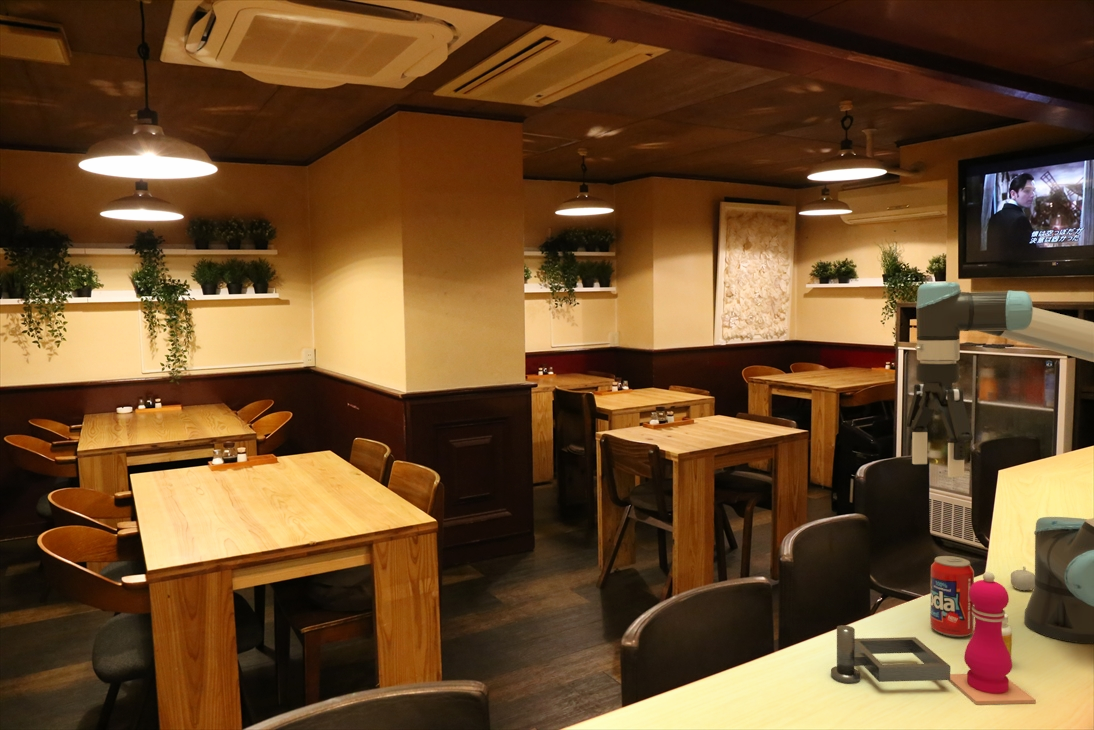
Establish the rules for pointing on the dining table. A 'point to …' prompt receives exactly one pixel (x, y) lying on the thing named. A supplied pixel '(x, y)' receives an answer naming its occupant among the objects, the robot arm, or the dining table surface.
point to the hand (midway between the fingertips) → (937, 470)
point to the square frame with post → (862, 655)
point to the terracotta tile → (983, 698)
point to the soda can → (951, 596)
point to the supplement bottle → (1007, 634)
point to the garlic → (1023, 579)
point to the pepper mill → (988, 638)
